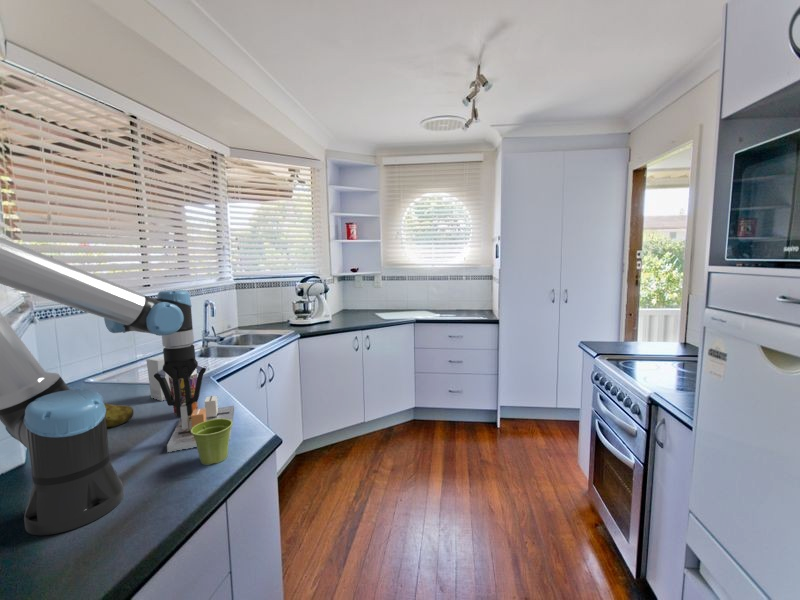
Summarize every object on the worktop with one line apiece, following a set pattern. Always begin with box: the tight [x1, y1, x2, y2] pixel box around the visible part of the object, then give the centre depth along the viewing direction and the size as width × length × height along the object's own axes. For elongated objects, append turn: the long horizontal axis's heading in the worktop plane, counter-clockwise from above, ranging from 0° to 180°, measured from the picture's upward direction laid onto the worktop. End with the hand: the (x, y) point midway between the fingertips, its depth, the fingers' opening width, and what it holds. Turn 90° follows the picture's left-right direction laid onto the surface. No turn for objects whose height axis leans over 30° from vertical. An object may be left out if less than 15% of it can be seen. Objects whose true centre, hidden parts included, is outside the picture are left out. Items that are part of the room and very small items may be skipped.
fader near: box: [191, 407, 206, 428], centre depth 107 cm, size 3×5×5 cm, turn 21°
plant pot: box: [191, 419, 233, 466], centre depth 94 cm, size 9×9×9 cm
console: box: [166, 405, 235, 453], centre depth 112 cm, size 15×24×2 cm, turn 21°
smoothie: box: [168, 369, 198, 416], centre depth 125 cm, size 8×8×20 cm
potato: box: [104, 402, 135, 428], centre depth 117 cm, size 8×13×8 cm, turn 131°
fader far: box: [204, 395, 219, 418], centre depth 118 cm, size 3×5×5 cm, turn 21°
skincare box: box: [146, 354, 171, 402], centre depth 142 cm, size 8×7×16 cm
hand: (186, 427), depth 106 cm, fingers closed
